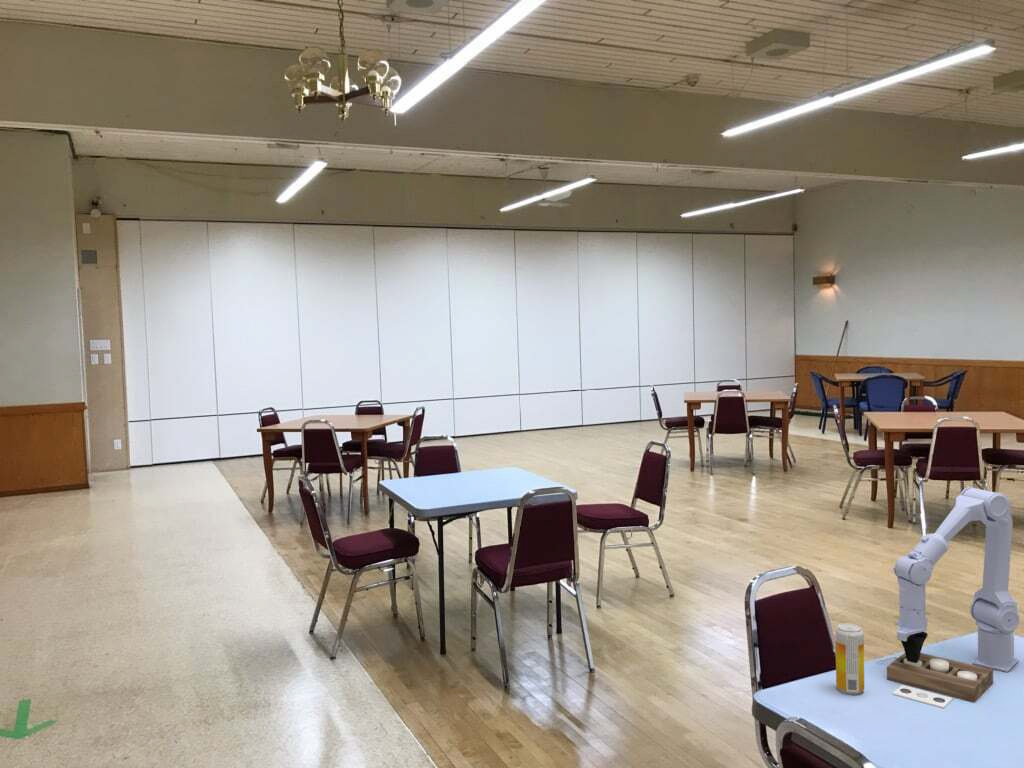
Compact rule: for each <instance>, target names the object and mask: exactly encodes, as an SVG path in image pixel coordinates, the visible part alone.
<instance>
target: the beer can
mask: <svg viewBox="0 0 1024 768" xmlns="http://www.w3.org/2000/svg"><path fill="white" fill-rule="evenodd" d="M864 635H865V633H864V630H863V628H862V626H860V625H858V624H855V623H848V622H846V623H844V622H843V623H838V625H836V628H835V679H836V680H835V684H836V688H838V690H839V691H840V693H842V694H843V693H844V694H846V695H851V696H853V695H860V693H861V694H862V692H863V691H864V690H865V639H864V638H865V637H864Z"/></svg>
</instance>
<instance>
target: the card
mask: <svg viewBox="0 0 1024 768" xmlns="http://www.w3.org/2000/svg"><path fill="white" fill-rule="evenodd" d="M891 694H892V695H894V696H896V697H900V698H905V699H908V700H910V701H911V700H912V701H915V702H918V703H922V704H925V705H930V706H933V707H937V708H941V709H945V708H946V707H947V706H948V705H949V704H950V703H951V702H953V700H954V699H953V698H954V697H951V696H947V695H943V694H940V693H936V692H932V691H928V690H924V689H921V688H917V687H913V686H909V685H906V684H901V685H900V686H899V687H898V688H896V689H895V690H894V691H892V693H891Z"/></svg>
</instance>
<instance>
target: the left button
mask: <svg viewBox="0 0 1024 768" xmlns="http://www.w3.org/2000/svg"><path fill="white" fill-rule="evenodd" d="M904 664H909V665H913V666H917V667H921V666H922V661H920V660H919V661H918V662H917V663H913V662H909V661H907V658H906V659H904Z"/></svg>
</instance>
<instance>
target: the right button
mask: <svg viewBox="0 0 1024 768" xmlns="http://www.w3.org/2000/svg"><path fill="white" fill-rule="evenodd" d="M957 677H961V678H965V679H969V680H974V681H976V680H977V675H976V674H975V673H973V672H969V671H959V672H957Z"/></svg>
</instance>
